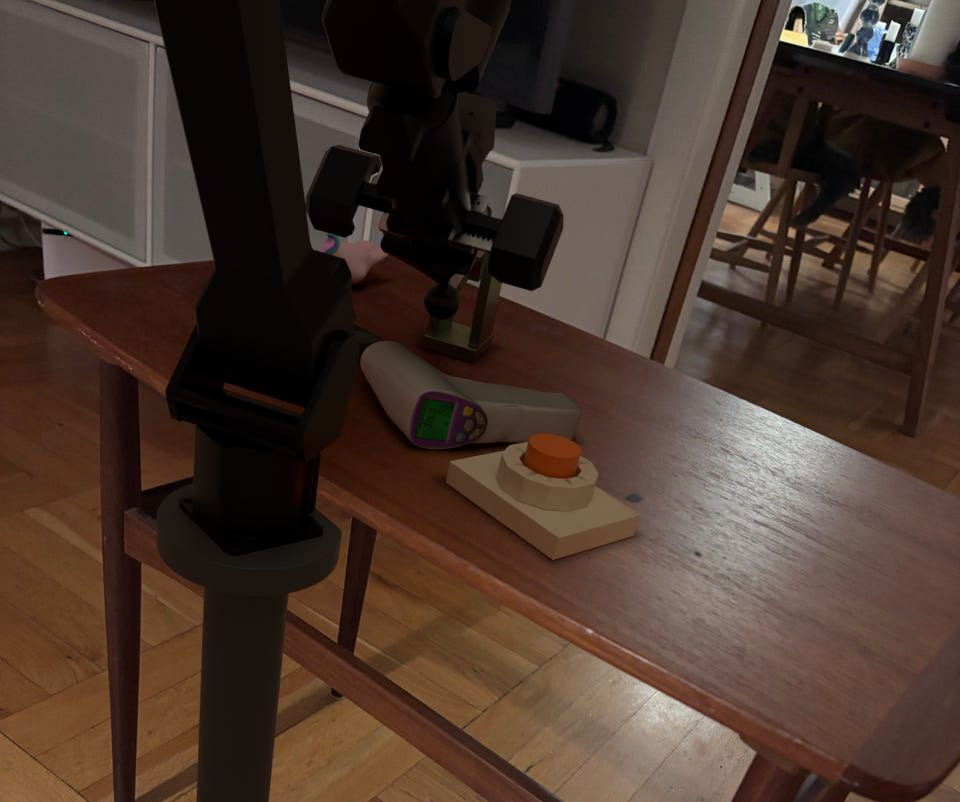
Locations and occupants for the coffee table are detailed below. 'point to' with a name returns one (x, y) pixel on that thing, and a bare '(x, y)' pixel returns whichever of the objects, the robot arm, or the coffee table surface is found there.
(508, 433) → the infrared thermometer
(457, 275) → the switch lever
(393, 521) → the coffee table surface
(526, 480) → the button box
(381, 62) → the robot arm
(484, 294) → the switch bracket
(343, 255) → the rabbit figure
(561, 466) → the button
